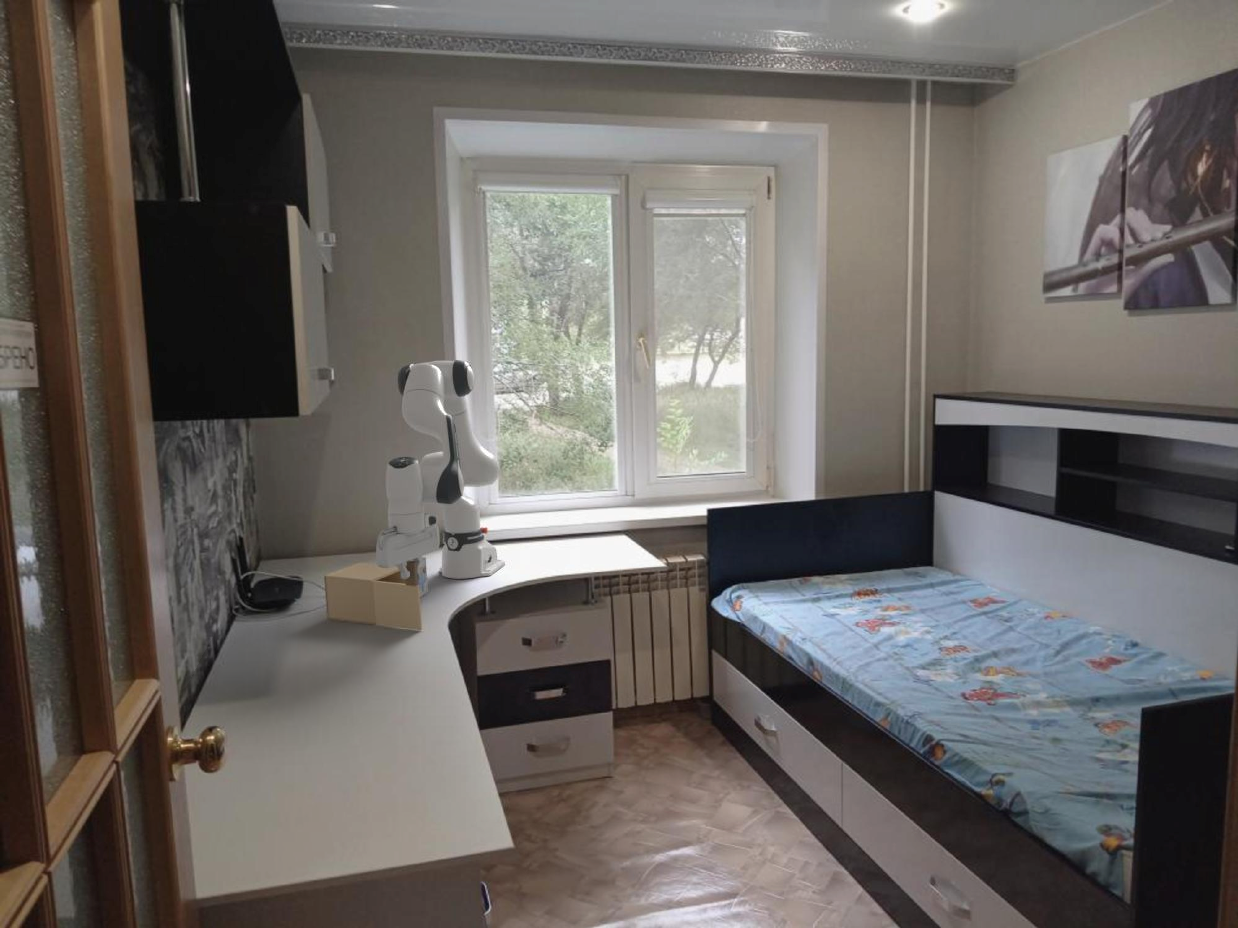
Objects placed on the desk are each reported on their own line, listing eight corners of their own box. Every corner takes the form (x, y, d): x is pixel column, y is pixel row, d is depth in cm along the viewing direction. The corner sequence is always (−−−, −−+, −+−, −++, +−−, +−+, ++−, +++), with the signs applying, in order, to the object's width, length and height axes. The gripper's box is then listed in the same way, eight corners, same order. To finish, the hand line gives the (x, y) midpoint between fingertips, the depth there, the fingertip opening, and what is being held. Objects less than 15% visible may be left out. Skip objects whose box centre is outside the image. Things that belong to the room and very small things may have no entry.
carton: (362, 603, 240) (359, 562, 239) (408, 609, 234) (406, 567, 232) (327, 618, 228) (324, 575, 226) (375, 625, 221) (372, 580, 220)
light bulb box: (412, 603, 240) (410, 566, 239) (390, 602, 241) (388, 565, 240) (428, 592, 250) (426, 556, 249) (407, 591, 252) (405, 556, 250)
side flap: (422, 629, 216) (418, 561, 214) (419, 630, 215) (415, 563, 213) (378, 623, 222) (373, 557, 219) (375, 624, 221) (370, 558, 218)
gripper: (388, 532, 202) (391, 589, 204) (442, 515, 220) (445, 567, 222) (367, 530, 204) (371, 586, 206) (423, 513, 222) (426, 565, 225)
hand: (410, 576), depth 214 cm, fingers open, 2 cm apart
